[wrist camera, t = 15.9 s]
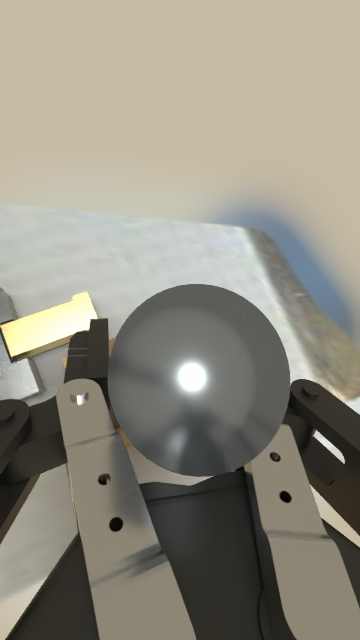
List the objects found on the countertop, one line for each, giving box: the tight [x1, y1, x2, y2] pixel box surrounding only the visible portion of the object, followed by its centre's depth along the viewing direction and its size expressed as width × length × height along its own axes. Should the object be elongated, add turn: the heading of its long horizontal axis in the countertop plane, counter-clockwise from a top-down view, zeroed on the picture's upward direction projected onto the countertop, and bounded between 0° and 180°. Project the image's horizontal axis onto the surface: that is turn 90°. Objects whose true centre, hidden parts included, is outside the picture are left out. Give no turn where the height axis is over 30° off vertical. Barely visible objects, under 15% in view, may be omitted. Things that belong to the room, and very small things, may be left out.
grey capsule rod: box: [108, 284, 290, 477], centre depth 13 cm, size 4×4×15 cm
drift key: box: [0, 292, 98, 360], centre depth 27 cm, size 7×3×4 cm, turn 113°
